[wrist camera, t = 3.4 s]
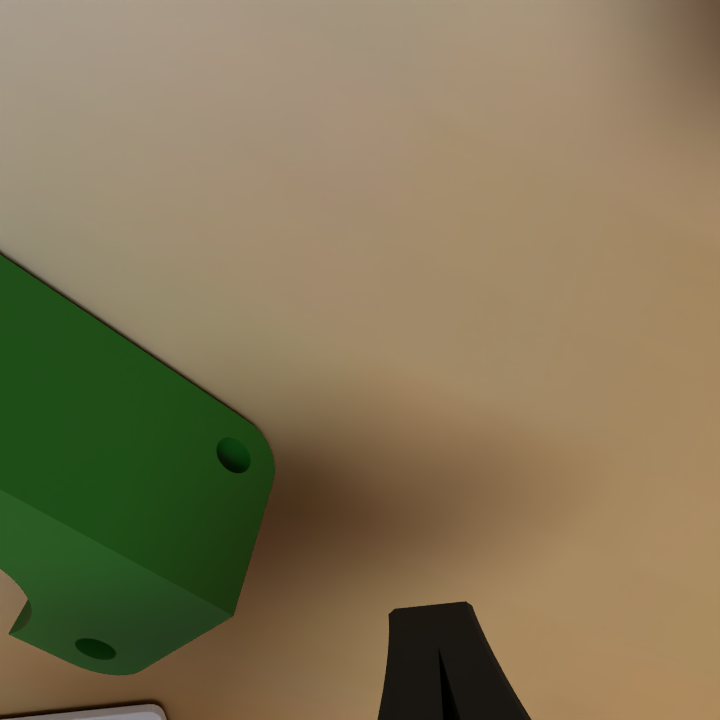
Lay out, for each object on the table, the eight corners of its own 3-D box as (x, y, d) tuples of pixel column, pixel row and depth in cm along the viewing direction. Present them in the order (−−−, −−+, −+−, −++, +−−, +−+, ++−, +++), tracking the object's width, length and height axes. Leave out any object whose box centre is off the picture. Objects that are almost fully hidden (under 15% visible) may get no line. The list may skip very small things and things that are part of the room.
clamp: (-7, 313, 22) (-361, 425, 15) (64, 196, 19) (-339, 263, 12) (215, 581, 23) (-23, 832, 15) (323, 509, 19) (92, 781, 12)
